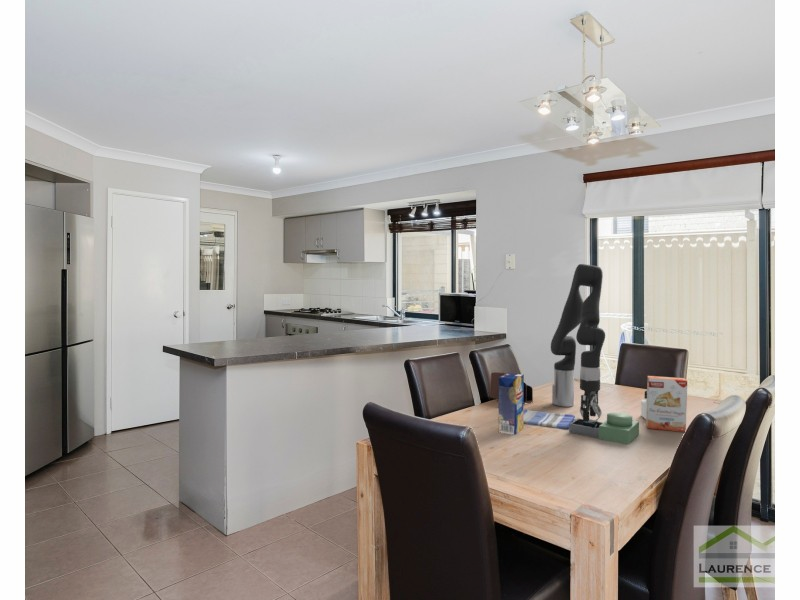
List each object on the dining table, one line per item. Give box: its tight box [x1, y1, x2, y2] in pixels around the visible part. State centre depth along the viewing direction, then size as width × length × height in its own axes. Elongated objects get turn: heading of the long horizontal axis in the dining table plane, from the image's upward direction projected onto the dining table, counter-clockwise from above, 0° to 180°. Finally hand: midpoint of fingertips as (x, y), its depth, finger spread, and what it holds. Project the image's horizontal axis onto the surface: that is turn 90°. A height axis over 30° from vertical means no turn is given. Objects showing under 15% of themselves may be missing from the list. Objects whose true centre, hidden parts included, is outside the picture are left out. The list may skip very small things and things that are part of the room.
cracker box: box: [645, 375, 688, 433], centre depth 206 cm, size 14×6×21 cm, turn 69°
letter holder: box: [489, 371, 534, 405], centre depth 256 cm, size 10×20×14 cm, turn 35°
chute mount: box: [568, 417, 605, 439], centre depth 201 cm, size 12×10×4 cm
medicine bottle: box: [640, 390, 647, 421], centre depth 222 cm, size 7×7×12 cm
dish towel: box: [523, 408, 577, 430], centre depth 218 cm, size 17×24×3 cm
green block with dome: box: [598, 412, 640, 445], centre depth 196 cm, size 11×16×8 cm
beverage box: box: [497, 372, 525, 436], centre depth 204 cm, size 7×11×22 cm, turn 150°
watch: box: [579, 402, 603, 428], centre depth 202 cm, size 6×8×11 cm
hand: (589, 418), depth 201 cm, fingers open, 8 cm apart
